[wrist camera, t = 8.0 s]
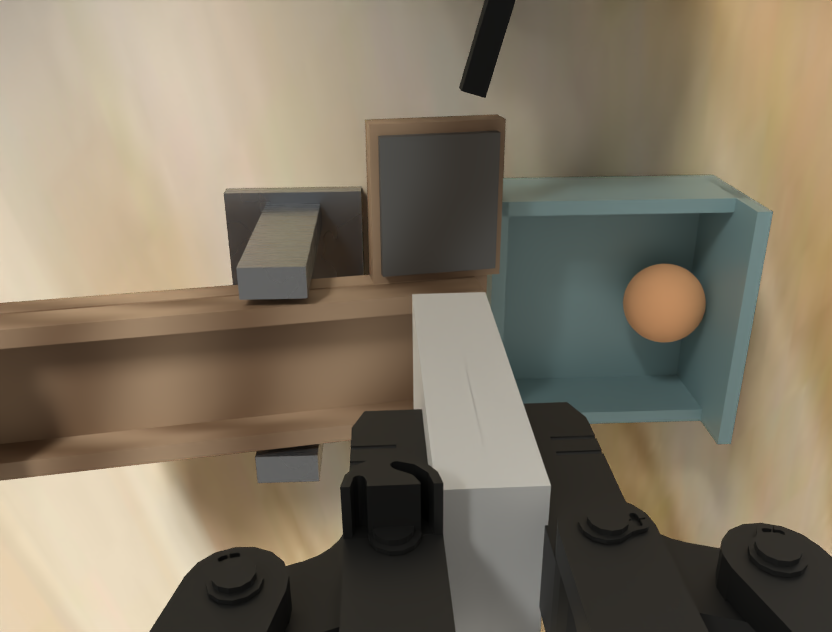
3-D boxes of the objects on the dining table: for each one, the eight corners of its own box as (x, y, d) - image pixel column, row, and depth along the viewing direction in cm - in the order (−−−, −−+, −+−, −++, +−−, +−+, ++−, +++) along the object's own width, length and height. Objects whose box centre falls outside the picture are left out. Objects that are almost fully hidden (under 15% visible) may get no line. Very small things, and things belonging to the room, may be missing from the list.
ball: (653, 361, 35) (717, 347, 36) (662, 285, 33) (729, 273, 35) (603, 330, 38) (664, 318, 39) (611, 259, 36) (673, 248, 38)
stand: (246, 385, 40) (212, 495, 31) (226, 188, 36) (182, 255, 27) (367, 382, 40) (365, 490, 32) (361, 186, 36) (356, 251, 28)
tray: (476, 384, 40) (492, 450, 35) (482, 178, 36) (501, 216, 31) (682, 379, 41) (730, 443, 35) (713, 174, 36) (772, 211, 31)
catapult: (-23, 450, 31) (-57, 513, 27) (-106, 138, 26) (-159, 165, 22) (487, 395, 35) (516, 444, 31) (497, 114, 30) (533, 134, 26)
